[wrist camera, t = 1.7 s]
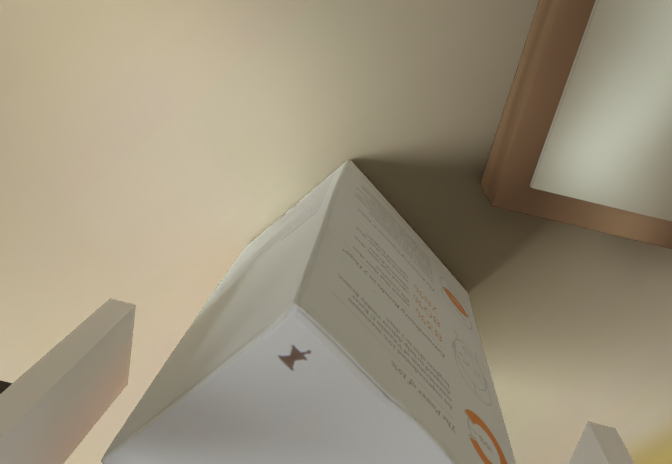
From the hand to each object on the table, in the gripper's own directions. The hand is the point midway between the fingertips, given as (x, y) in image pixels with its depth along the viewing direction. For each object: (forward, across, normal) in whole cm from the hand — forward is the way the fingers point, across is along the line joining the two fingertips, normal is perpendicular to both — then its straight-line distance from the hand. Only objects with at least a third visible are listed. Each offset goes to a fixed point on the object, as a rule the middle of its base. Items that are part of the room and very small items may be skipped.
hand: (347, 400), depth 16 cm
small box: (+9, 0, 0) cm, 9 cm away
